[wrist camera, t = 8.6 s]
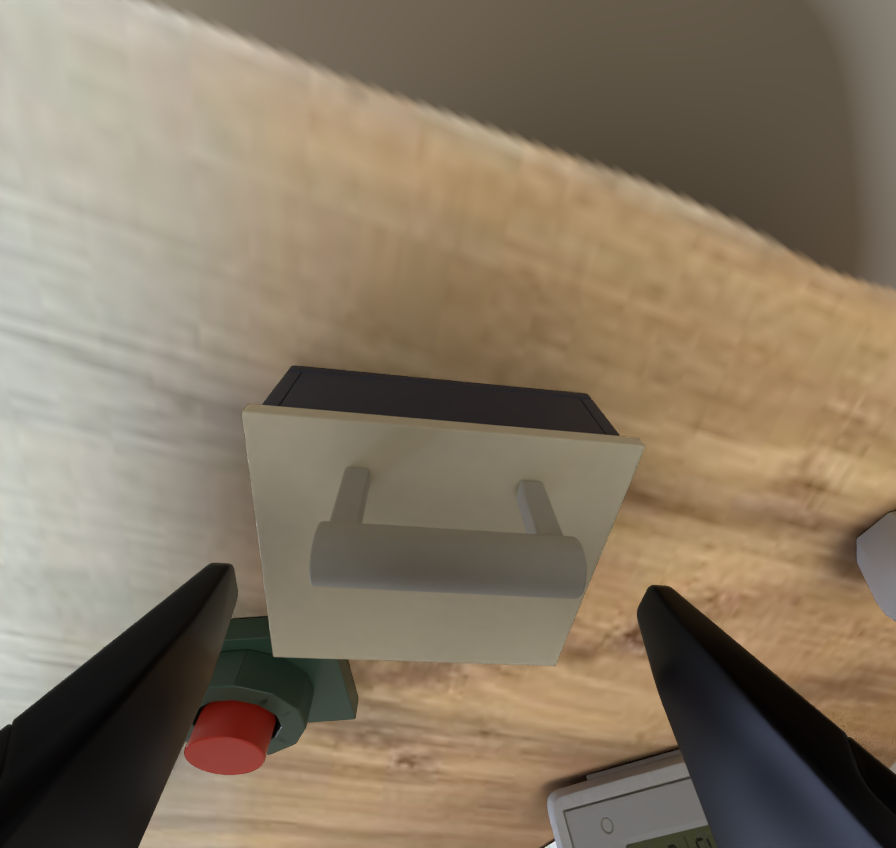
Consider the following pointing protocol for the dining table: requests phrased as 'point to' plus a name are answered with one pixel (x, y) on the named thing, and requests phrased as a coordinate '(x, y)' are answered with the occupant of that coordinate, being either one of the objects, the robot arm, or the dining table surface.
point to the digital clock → (632, 808)
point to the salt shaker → (880, 562)
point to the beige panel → (428, 533)
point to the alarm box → (279, 683)
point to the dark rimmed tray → (438, 400)
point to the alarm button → (230, 737)
